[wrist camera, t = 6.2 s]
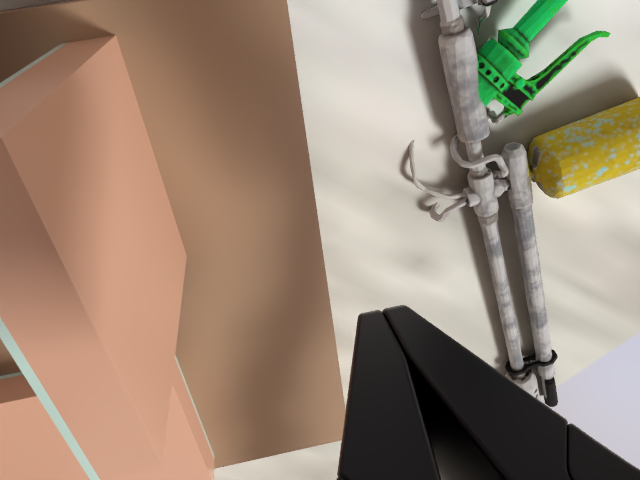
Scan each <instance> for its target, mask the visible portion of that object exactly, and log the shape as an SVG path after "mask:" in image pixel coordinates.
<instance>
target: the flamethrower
mask: <svg viewBox="0 0 640 480" xmlns="http://www.w3.org/2000/svg"><path fill="white" fill-rule="evenodd" d="M436 1H437V5H436V6H434V7H432V8H431V9H429V10H427V11H425V12H423V13H421V16H420V18H422V19H426V18H429V17H433V16H436V15H440V19H441V23H440V27H441V32H442V34H441V35H440V37H439V39H438V44H439V50H440V55H441V60H442V65H443V69H444V74H445V79H446V83H447V88H448V92H449V97H450V101H451V106H452V110H453V115H454V120H455V124H456V129H457V134H456V135H455V136H454V137H453V138H452V140H451V144H450V148H449V150H450V153H451V157H452V158H453V159H454V160H455V161H456V162H457V163H458V164H459V165H460V166H461V167H465V168H470V169H469V173H468V175H467V177H468V183H469V187H467V188H465V189H463V193H459V194H443V193H440V192H436V191H433V190H431V189H429V188H427V187H425V186H423V185H422V184H421V183H420V182H419V181H418V179H417V174H416V168H415V162H414V145H413V143H414V140H413V141H412V142H411V143H410V144H409V156H410V167H411V172H412V176H413V181H414V184H415V185H416V186H417V188H419V189H421V190H423V191H425V192H427V193H429V194H431V195H433V196H436V197H440V198H444V199H457V198H462V197H464V199H462V200H461V201H459V202H457V203H455V204H453V205H452V206H450V207H448V208H446V209H445V210H444V211H443V212H442V213H441V214H440V215H438V214H437V213H436V210H437V209H438V207H439V203H436V204H435V205H433V206H432V207H431V209H430V211H429V212H430V215H431V218H433V219H434V220H436V221H444V219H445V218H446V217H447V216H448V215H449V214H450V213H451V212H453V211H455V210H456V209H458V208H460V207H463V206H465V205H467V204H468V206H470V207H472V206H474V211H475V213H476V214H477V217H478V221H479V223H480V224H481V229H482V234H483V238H484V243H485V247H486V252H487V257H488V262H489V266H490V271H491V276H492V280H493V285H494V290H495V294H496V298H497V303H498V308H499V313H500V318H501V323H502V327H503V332H504V337H505V341H506V346H507V351H508V355H509V360H510V361H508V362H507V364H506V366H505V368H506V370H507V372H506V374H505V376H506V377H507V378H508V379H510V380H511V381H513V382H514V383H515V384H517V385H518V386H520V387H521V388H522V389H524V390H525V391H527V392H528V393H530V394H531V395H532V396H534V397H535V398H537V399H538V400H539V401H540V395H539V390H538V384H537V379H536V376H535V374H534V373H533V372H532V371H531V370H530V369H533V368H536V367H538V372H539V375H540V376H541V381H542V387H543V394H544V400H545V404H547V405H548V406H550V407H554V406H556V405H557V403H558V400H557V392H556V385H555V380H554V374H555V372H554V365H553V363H554V362H555V360H556V359H557V354H556V353H555V351H554V350H551V344H550V337H549V329H548V320H547V314H546V307H545V299H544V292H543V284H542V278H541V271H540V264H539V255H538V249H537V242H536V235H535V227H534V220H533V212H532V205H531V204H532V203H533V196H532V187H531V179H532V180H533V182H536V183H537V185H538V187H539V188H540V189H541V190H542V191H543V192H544V193H545V194H547V195H548V196H550V197H552V198H557V199H558V198H561V197H564V196H566V195H569V194H572V193H575V192H577V191H580V190H583V189H586V188H588V187H591V186H594V185H597V184H599V183H602V182H605V181H608V180H610V179H613V178H616V177H618V176H621V175H624V174H627V173H629V172H632V171H635V170H638V169H640V97H638V98H636V99H633V100H630V101H628V102H625V103H623V104H620V105H617V106H615V107H612V108H609V109H607V110H604V111H601V112H599V113H596V114H594V115H591V116H588V117H586V118H583V119H580V120H578V121H575V122H572V123H570V124H567V125H564V126H562V127H559V128H557V129H554V130H551V131H549V132H546V133H544V134H541V135H539V136H536V137H534V138H533V140H532V141H531V142H530V144H529V151H528V159H527V152H526V150H525V148H524V146H523V145H522V144H521V143H516V142H512V143H509V144H506V145H505V147H504V149H503V150H502V152H501V156H500V155H498V154H492V155H488V156H486V157H484V154H483V149H482V144H481V140H483V139H485V138H486V137H488V135H489V134H490V131H489V124H488V119H489V118H490V119H491V121H492V122H493V123H497V124H498V123H499V122H501V121H502V120H503V119H504V118H506V117H507V116H508V115H511V114H513V113H515V114H516V115H520V114H521V113H522V112H523V111H522V110H521V109H522V108H523V106H524V105H525V104H526V103H527V102H528V101H529V100H533V99H534V97H535V95H536V94H537V93H538V92H540V91H541V90H542V89H543V88H544V87H545V86H546V85H547V84H548V83H549V82H550V81H551V80H552V79H553V78H554V77H555V76H556V75H557V74H558V73H559V72H560V71H561V70H562V69H563V68H564V67H565V66H566V65H567V64H568V63H569V62H570V61H571V60H572V59H573V58H574V57H576V56H577V55H578V54H579V53H580V52H581V51H582V50H583V49H584V48H585V47H586V46H587V45H588V44H589V43H590V42H591V41H593V40H595V39H596V38H598V37H608V36H609V35H610V34H611V33H608V32H606V31H595V32H593V33H591V34H589V35H586V36H584V37H582V38H579V39H578V40H577V41H576V42H575V43H574V44H573V45H572V46H570V47H569V48H568V49H567V50H566V51H565V52H564V53H562V54H561V55H560V56H559V57H558V58H557V59H556V60H554V61H553V62H552V63H551V64H550V65H549V66H548V67H546V68H545V69H544V70H543V71H541V72H540V73H538V74H536V75H535V76H533V77H531V78H530V79H528V80H525V79H523V78H522V77H520V76H519V75H517V74H516V71H517V70H518V69H519V68H520V67H521V66H522V64H521V63H520V62H519V60H518V59H522V58H528V57H529V42H530V41H531V40H532V39H533V38H534V37H535V36H536V35H537V34H538V32H539V31H540V30H541V29H542V28H543V27H544V26H545V25H546V24H547V23H548V21H549V20H550V19H551V18H552V17H553V16H554V15H555V14H556V13H557V12H558V11H559V9H560V8H561V7H562V6H563V5H564V4H565V3H566V2H567V1H568V0H537V2H536V3H535V4H534V5H533V6H532V7H531V8H530V9H529V11H528V12H527V13H526V14H525V15H524V16H523V17H522V18H521V20H520V21H519V22H518V23H517V24H516V25H515V26H514V27H513V28H510V29H503V30H498V42H497V41H496V40H495V39H493V38H491V37H490V38H489V39H488V40H487V41H486V43H485V44H484V45H483V46H482V47H481V48H480V50H479V51H478V52H476V47H475V42H474V37H473V33H472V31H471V30H470V28H469V27H464V21H463V17H462V15H460V11H459V10H460V9H463V8H466V7H468V6H471V5H473V4H476V3H478V5H482V6H486V7H485V10H484V13H483V14H482V15H480V16H479V17H478V19H477V22H476V24H477V31H478V34H479V28H480V23H481V22H482V21H483V20H484V19H485V18H487V17H488V16H489V14H490V9H491V5H493V4H495V3H497V0H436ZM492 98H494V99H496V100H497V101H498V102H500V103H501V104H503V105H504V109H503V111H502V112H501V113H500V114H499V115H498V116H497V115H496V113H495V112H494V111H488V112H487V111H486V106H487V105H488V103H489V102H490V101H491V100H492ZM459 141H461V142H464V143H465V147H466V151H467V156H468V160H469V162H468V161H465V160H462V158H461V156H460V155H459V153H458V150H457V144H458V142H459ZM491 161H495V162H497V164H498V166H499V168H500V170H501V171H491V169H490V168H487V167H486V165H485V164H486V163H488V162H491ZM528 161H529V165H528ZM503 177H505V178H503ZM504 191H507V195H508V202H509V205H510V207H511V208H512V214H513V221H514V227H515V233H516V238H517V244H518V250H519V256H520V262H521V268H522V274H523V280H524V287H525V293H526V299H527V305H528V310H529V316H530V322H531V328H532V334H533V341H534V347H535V353H534V354H533V355H530V356H527V357H524V358H522V353H521V347H520V342H519V337H518V332H517V326H516V321H515V315H514V310H513V305H512V300H511V295H510V289H509V284H508V279H507V274H506V268H505V263H504V258H503V253H502V247H501V242H500V237H499V232H498V226H497V221H498V218H499V217H498V213H497V212H498V208H499V205H498V200H497V197H499V196H501V195H502V193H503V192H504ZM533 360H535V362H533ZM527 362H528V363H530V364H526V363H527Z"/></svg>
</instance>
